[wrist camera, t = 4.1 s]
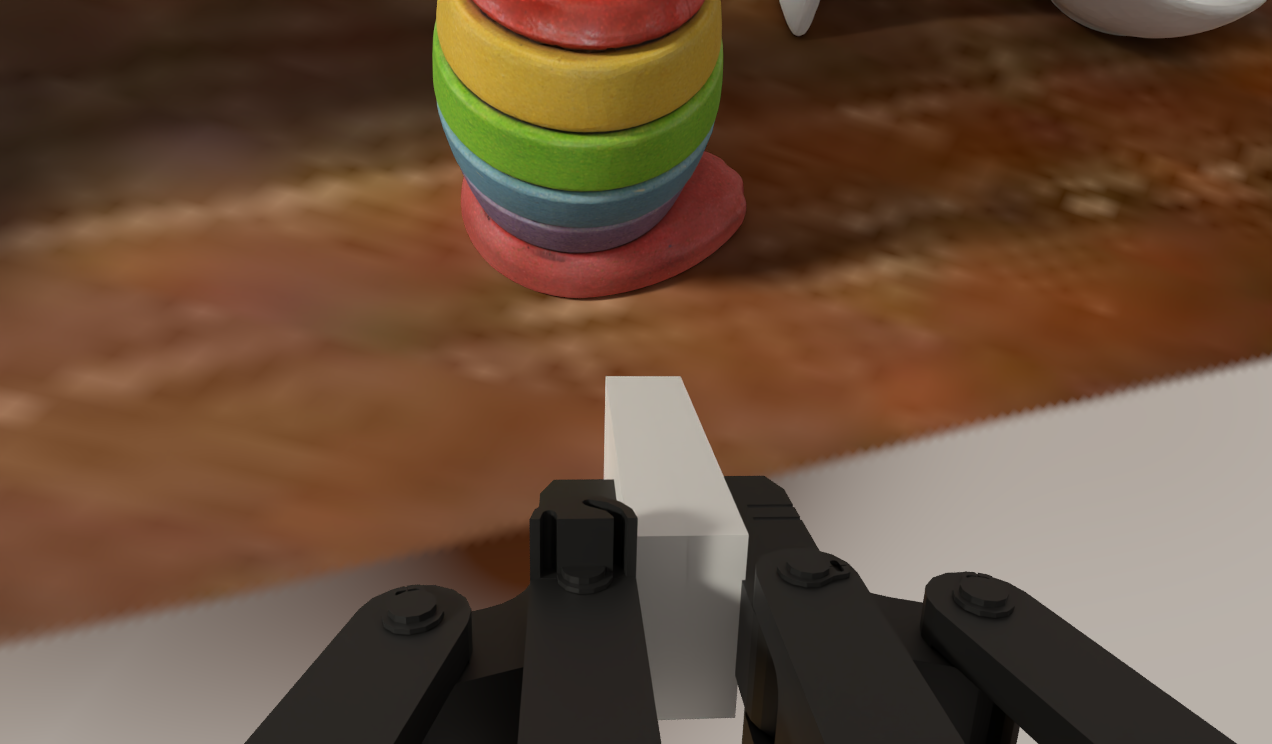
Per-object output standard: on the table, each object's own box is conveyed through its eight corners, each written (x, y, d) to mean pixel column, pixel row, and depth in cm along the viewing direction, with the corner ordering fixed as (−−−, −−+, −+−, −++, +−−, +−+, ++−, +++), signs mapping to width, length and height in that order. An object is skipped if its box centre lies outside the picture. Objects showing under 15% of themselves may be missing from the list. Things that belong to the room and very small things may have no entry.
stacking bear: (765, 210, 34) (942, -311, 18) (590, 364, 30) (620, -130, 14) (577, 69, 36) (587, -487, 21) (395, 192, 33) (238, -379, 17)
